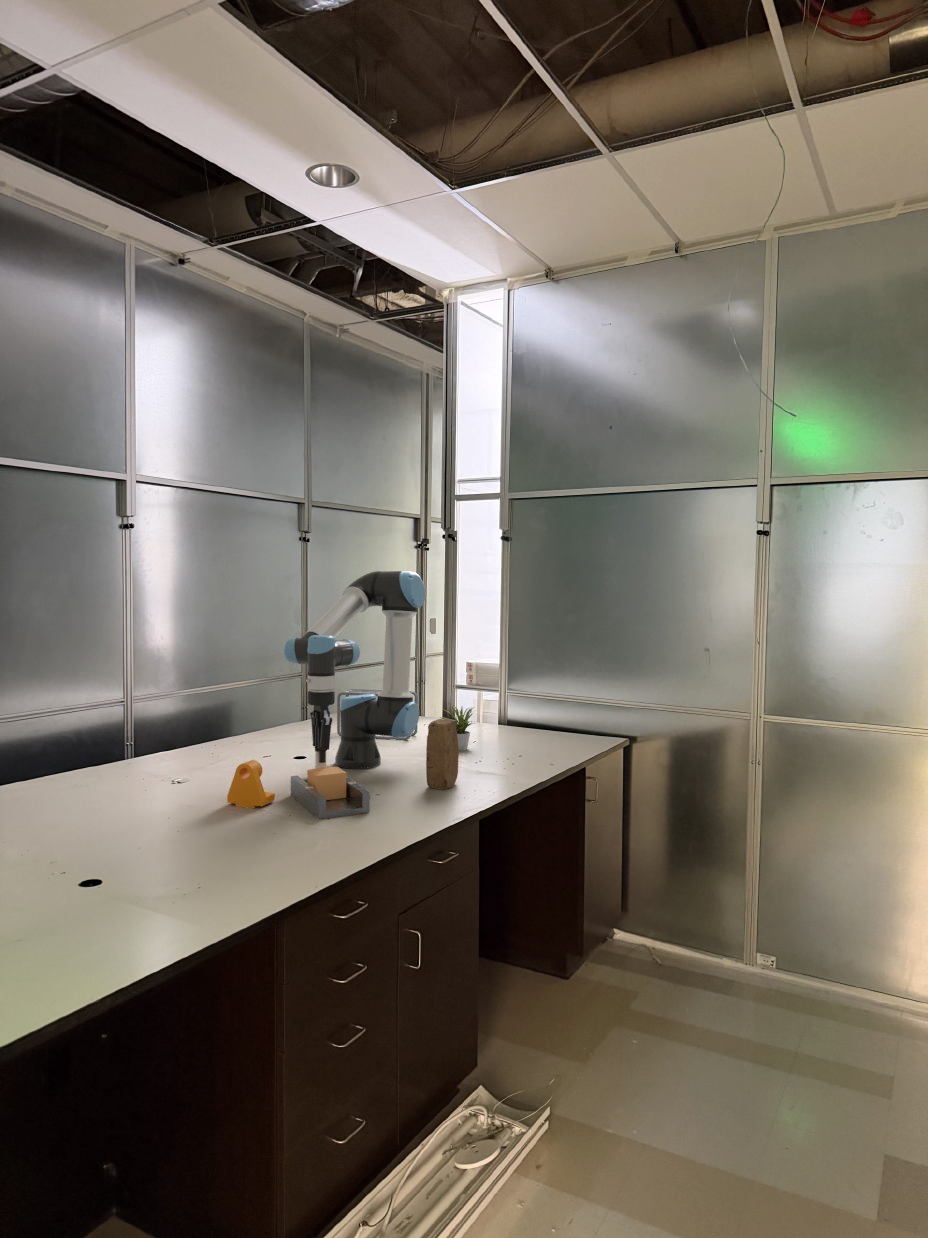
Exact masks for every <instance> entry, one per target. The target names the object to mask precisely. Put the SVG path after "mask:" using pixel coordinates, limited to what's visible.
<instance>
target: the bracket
mask: <svg viewBox="0 0 928 1238" xmlns="http://www.w3.org/2000/svg"><path fill="white" fill-rule="evenodd" d="M262 774H263V767H262V764H261V763H260V762H259V761H258V760H255V759H251V760H248V761H246V762H243V763H241V764H239V765H238V766H237V767H236V769H235V772H234V775H233V777H232V781H231V784H230V787H229V790H228V793H227V794H226V795H227V799H226V800H227V802H226V803H228V804H235V807H237V806H238V808H247V807H248V809H249V808H250V809H256V808H257V807H264V806H266V805H268V804H270V803H272V802H273V801H275V796H276V795H275V792H271V791H265V789H264V787H263V783H262V781H261V777H262Z"/></svg>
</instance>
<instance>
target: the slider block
mask: <svg viewBox="0 0 928 1238" xmlns="http://www.w3.org/2000/svg"><path fill="white" fill-rule="evenodd" d="M306 771H307V773H306V774H307V777H306V778H307V783H308V784H309V785H311V786H313V787H314V788H315V789H316V790H317V791H318V792H320V793H321V794H322V795H324V796H325V797H326V800H331V799H339V798H346V777H347V772H346V771H344V770H343V769H341V767H338V766H330V767H327V766H326V768H318V769H315V768H310V769H306Z"/></svg>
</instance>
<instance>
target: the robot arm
mask: <svg viewBox="0 0 928 1238" xmlns="http://www.w3.org/2000/svg"><path fill="white" fill-rule="evenodd" d="M425 588H426V587H425V584H424V582H423V580H422V578H421V576H420V575H419V574H418V573H416V572H414V571H406V570H398V571H396V570H395V571H393V570H391V571H390V570H389V571H385V570H384V571H381V570H375V571H370V572H368V573H366V574H364V575H362V576H360V577H359V578H357V579H355V580H353V581H352V582H351V583H350V584H349V585H348V586H347V587H345V589H344V590H343V591H342V595H341V597H340V598H339V599H337V601H336V602H335V603H334V604H333V605H332V606H331V607H330V608H329V609H327V611H326V612H325V613H324V614H322V616H321V617H320V618H319V619H318V620H317V621H316V622H315V623H314V624H313V625H312V626H310V628H309V629H308V630H307V631H306V632H305V633H304V634H303V635H302V636H301V637H291V638H289V639H288V640H287V641H286V643H285V644H284V649H283V650H284V651H283V652H284V653H283V654H284V656H285V659H286V661H288V662H289V663H293V664H299V665H307V679H305V681H306V683H307V689H308V691H307V705H309V706H313V710H312V711H310V713H309V715H310V720H311V733H312V734H311V735H312V737H311V738H312V746H313V747H314V753H315V755H314V756H315V761H314V762H315V766H314V767H315V768H314V769H318V768H327V751H329V750H330V745H331V744H330V742H331V731H332V723H333V717H331V712H330V710H329V706H332V705H334V704H335V701H336V699H335V698H336V697H335V696H336V695H335V693H336V692H335V691H334V689H336V673H335V670H336V669H335V668H339V667H348V666H350V665H353V664H355V663H357V662H358V660H359V658H360V654H361V651H360V647H359V645H358V643H357V642H356V641H354V640H352V639H342V640H341V639H340V640H338V639H336V638H337V637H338V635H339V634H341V633H342V631H344V629H345V628H346V627H347V626H348V625H349V624H350V623H351V622H352V621H353V620H354V619H355V618H356V616H357V615H359V613H363V612H365V611H367V609H368V608H372V607H381V612H382V613H383V615H385V631H384V634H385V635H384V652H383V657H384V658H383V673H382V676H383V677H382V689H381V690H382V691H381V692H380V693H379V694H378V696H376V695H375V694H364V695H349V697H346V696H345V697H344V698H342V699H341V700H340V732H341V736H340V742H339V744H338V748H337V752H336V755H335V758H334V759H335V760H334V765H335V767H338V768H343V769H353V770H356V769H357V770H358V769H359V770H360V769H371V768H375V767H378V766H380V765H381V764H382V762H381V761H382V760H381V758H382V756H381V754H380V751H379V747H378V744H377V742H376V741H377V739H376V736H387V737H395V738H396V737H408V736H410V735H411V734H412V733H414V731H415V728H416V726H417V727H418V725H419V724H418V723H419V720H420V719H419V718H420V709H419V705H417V704H416V703H415V701H414V695H413V694H411V693H410V692H409V691H410V674H411V673H410V672H411V656H412V655H411V654H412V653H411V652H412V651H411V650H412V631H413V629H412V628H413V618H414V617H415V616H416V615H417V614H418V609H419V608H421V607H422V606H423V605H424V602H425V600H426V589H425ZM410 737H411V736H410Z"/></svg>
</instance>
